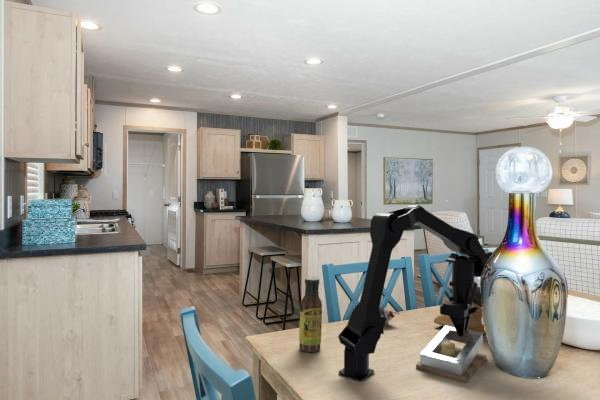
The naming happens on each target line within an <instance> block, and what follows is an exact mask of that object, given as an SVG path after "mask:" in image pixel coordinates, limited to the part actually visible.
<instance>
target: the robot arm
mask: <svg viewBox="0 0 600 400" xmlns="http://www.w3.org/2000/svg"><path fill="white" fill-rule="evenodd" d="M415 225H417V226H419V227H420V228H421V229H424V230H426V231H427V232H429V233H430V234H432V235H434V236H436V237H437V238H439V239H440V240H441V241H442V242H443V244H444V246H446V248H448V249H449V250H450V251H451V253H450V255H448V256H447V257H446V258H445V262H447V263H451V281H449V286H451V295H449V299H448V301H446V302H444V303H442V304H441V305H440V306H439V314H440V315H447V316H449V317H450V318H451V320H452V322H453V324H454V327H455V329H456V331H457V333H458V335H459V336H461V337H463V334H464V330H467V329H468V325H469V322H470V318H471V315H472V314H473V313H474V312H475V311H477V310H478V309H479V308H476V307H473V305H472V304H473V303H475V304H477V305H478V306H480V307H482V305H481V293H480V289H479V288H478V286H479V284H478V282H477V281H475V278H481V274H482V271H483V268H484V266H485V264H486V262H487V260H488V259H489V257H490V256H491V255H492V253H493V254H494V252H493V251H485V250H484V248H483V246H482V244H481V243H480V241H479V236H478V235H476V234H475V233H472V232H470V231H468V230H463V229H460V228H457V227H454V226H453V225H450V224H449V223H448V222H446V221H444V220H442V219H441V218H440V217H438V216H436V215H435V214H433V213H431V212H430V211H428V210H426V209H425V208H424V207H423V206H421V205H412V204H411V205H410V204H409V205H407V206H405V207H402V208H398V209H395V210H390V211H388V212H382V211H381V212H377V213H375V214H374V215H373V216H372V218H371V221H370V229H369V231H370V232H369V236H370V240H371V243H372V244H371V245H372V246H371V252H370V256H369V261H368V264H367V268H366V273H365V277H364V282H363V287H362V289H361V291H362V292H361V295H360V300H359V302H358V303H357V305H355V307H354V310H353V309H352V312H351V314H350V317H349V319H348V321H347V325H345V327H344V328H343V329H342V331H341V332H340V333H339V334H338V336H337V338H338V340H339V343H340V344H341V345H343V346H344V350H343V353H344V355H343V358H344V359H343V368H342V369H339V370H338V374H339V375H342V376H344V377H347V378H351V379H353V380H356V381H359V382H362V381H364V380H365V379H367V378H368V377H370V376H372V374H374V373H375V370H374V369H372V368H370V354H375V351H376V349H377V345H378V342H379V341H380V339H381V336H382V335H384V332H385V331H384V329H385V326H386V324H385V322H386V317H385V316H383V315H381V313H380V307H381V306H380V305H381V301H382V298H383V297H382V296H383V294H384V289H385V284H386V279H387V274H388V271H389V266H390V262H391V256H392V253H393V250H394V249H395V247H396V246H397V245H398V244H399V242H400V241H401V238H402V236H403V234H404V231H405V230H409V229H410V228H412V227H413V226H415Z"/></svg>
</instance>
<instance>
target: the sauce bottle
mask: <svg viewBox="0 0 600 400" xmlns="http://www.w3.org/2000/svg"><path fill="white" fill-rule="evenodd" d="M304 284H305V287H304V288H305V290H304V296H303V297H302V299H301V301H300V310H299V327H298V328H299V331H298V334H299V337H298V338H299V339H298V343H299V345H298V346H299V350H301V351H304V352H307V353H315V352H318V351H320V349H321V344H322V328H323V327H322V324H323V323H322V320H323V303H322V300H321V298H320V296H319V293H320V291H319V285H320V278H318V277H315V276H312V277H311V276H310V277H308V276H307V277H305V278H304Z"/></svg>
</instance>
